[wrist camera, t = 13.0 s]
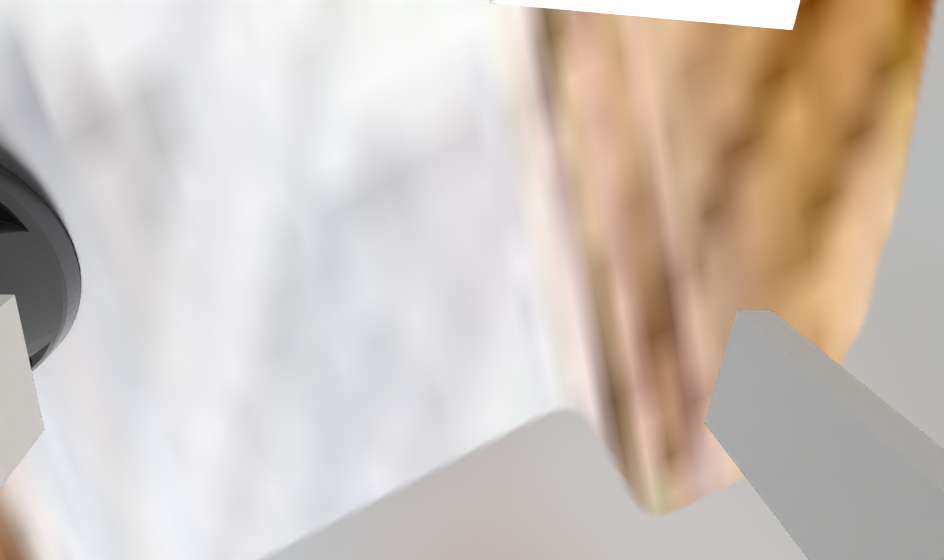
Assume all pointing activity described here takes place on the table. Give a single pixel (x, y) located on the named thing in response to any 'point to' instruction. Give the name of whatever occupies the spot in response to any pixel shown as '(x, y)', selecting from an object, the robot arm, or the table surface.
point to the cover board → (684, 10)
